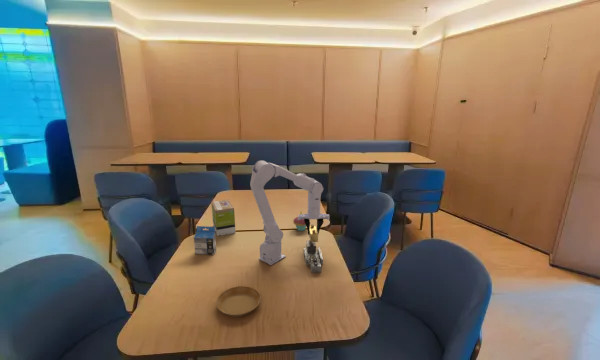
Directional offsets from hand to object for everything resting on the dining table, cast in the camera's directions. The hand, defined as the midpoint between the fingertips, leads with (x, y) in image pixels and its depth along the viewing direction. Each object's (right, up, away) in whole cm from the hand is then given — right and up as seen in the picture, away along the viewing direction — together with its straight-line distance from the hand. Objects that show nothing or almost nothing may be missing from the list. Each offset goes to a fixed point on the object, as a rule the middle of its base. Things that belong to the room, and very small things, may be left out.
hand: (313, 233), depth 132 cm
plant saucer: (-27, -18, -36) cm, 48 cm away
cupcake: (-6, -2, +25) cm, 26 cm away
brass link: (0, -2, +1) cm, 2 cm away
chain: (0, -10, -6) cm, 11 cm away
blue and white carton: (-50, -9, -2) cm, 51 cm away
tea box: (-48, -2, +23) cm, 54 cm away
